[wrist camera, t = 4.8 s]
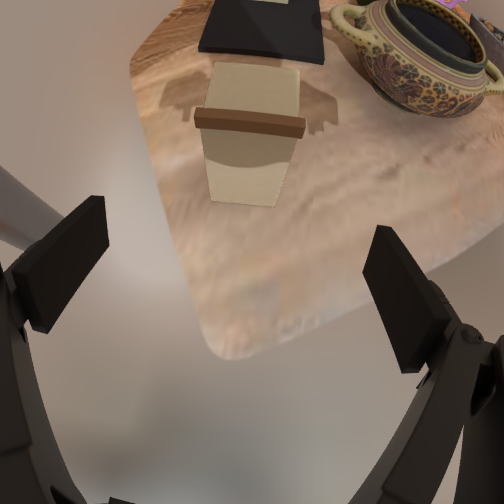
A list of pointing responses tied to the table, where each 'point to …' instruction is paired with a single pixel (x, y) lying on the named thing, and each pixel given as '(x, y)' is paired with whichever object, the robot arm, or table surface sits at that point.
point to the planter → (490, 40)
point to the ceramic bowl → (420, 56)
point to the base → (265, 29)
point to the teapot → (450, 3)
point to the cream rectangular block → (249, 131)
